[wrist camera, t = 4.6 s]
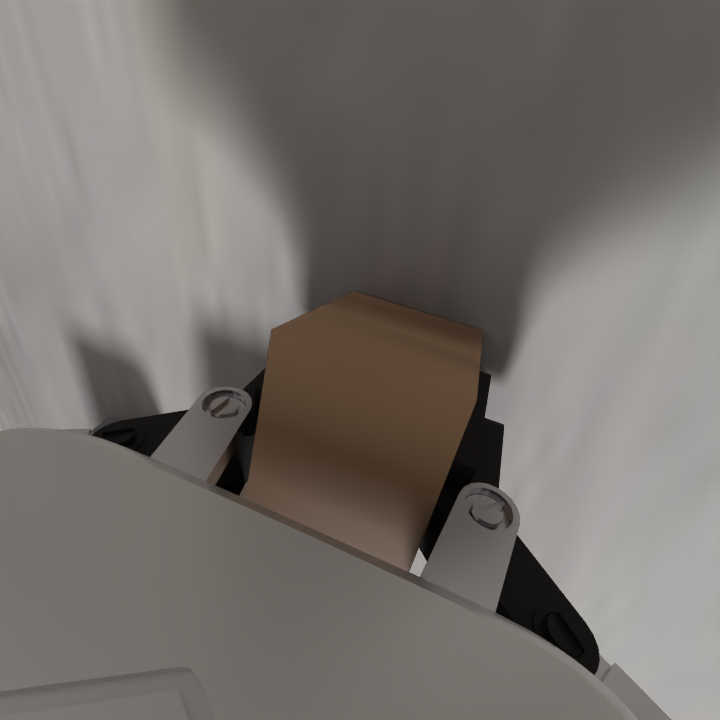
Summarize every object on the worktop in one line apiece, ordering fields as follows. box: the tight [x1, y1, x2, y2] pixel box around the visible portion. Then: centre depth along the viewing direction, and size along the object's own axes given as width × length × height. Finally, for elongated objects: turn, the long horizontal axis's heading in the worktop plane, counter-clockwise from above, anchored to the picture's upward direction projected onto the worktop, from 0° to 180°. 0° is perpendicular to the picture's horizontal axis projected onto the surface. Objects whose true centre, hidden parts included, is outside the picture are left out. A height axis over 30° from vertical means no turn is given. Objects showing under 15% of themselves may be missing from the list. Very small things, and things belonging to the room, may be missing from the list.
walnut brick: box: [245, 291, 483, 572], centre depth 11 cm, size 7×4×5 cm, turn 170°
